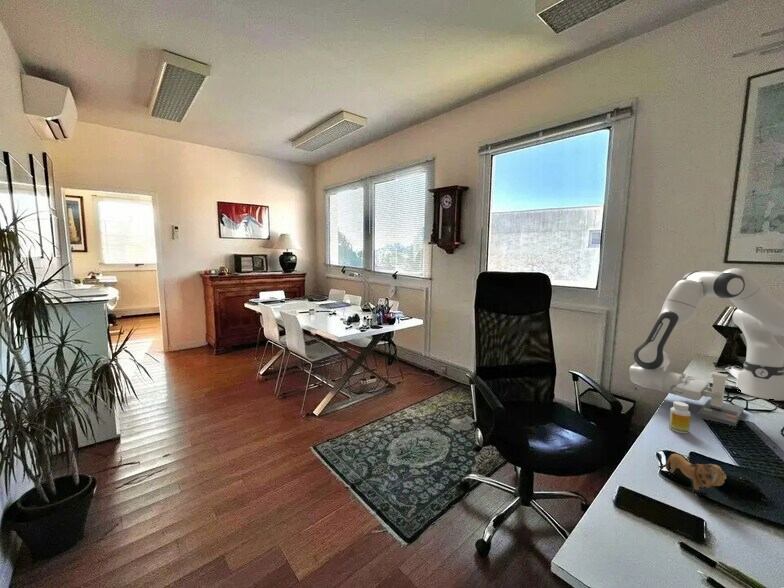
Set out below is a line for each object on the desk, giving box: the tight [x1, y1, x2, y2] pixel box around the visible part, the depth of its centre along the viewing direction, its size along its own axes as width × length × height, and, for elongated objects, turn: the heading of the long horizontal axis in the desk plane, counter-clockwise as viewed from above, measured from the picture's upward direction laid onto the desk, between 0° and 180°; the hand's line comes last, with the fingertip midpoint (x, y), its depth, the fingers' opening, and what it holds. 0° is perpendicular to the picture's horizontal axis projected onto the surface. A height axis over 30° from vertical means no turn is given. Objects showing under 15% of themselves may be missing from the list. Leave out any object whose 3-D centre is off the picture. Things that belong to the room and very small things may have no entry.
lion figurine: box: [657, 453, 727, 496], centre depth 88 cm, size 15×5×9 cm, turn 17°
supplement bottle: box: [668, 400, 691, 434], centre depth 116 cm, size 5×5×10 cm
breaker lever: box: [710, 371, 729, 410], centre depth 128 cm, size 4×4×13 cm
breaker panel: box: [697, 398, 745, 427], centre depth 128 cm, size 20×10×2 cm, turn 127°
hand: (720, 394), depth 128 cm, fingers closed on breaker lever, 3 cm apart
